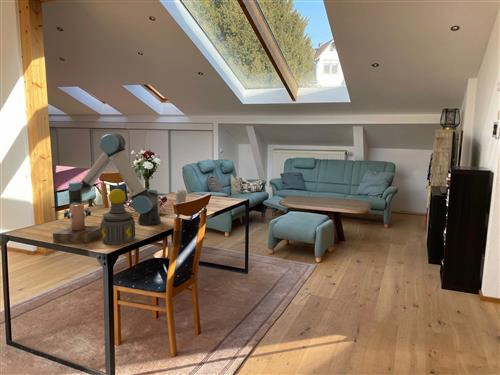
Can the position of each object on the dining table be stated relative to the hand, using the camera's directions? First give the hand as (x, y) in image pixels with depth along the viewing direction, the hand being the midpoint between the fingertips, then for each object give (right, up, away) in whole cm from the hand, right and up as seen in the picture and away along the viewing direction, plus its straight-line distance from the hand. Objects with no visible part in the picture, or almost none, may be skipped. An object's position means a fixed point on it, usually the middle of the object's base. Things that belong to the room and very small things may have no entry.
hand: (78, 217), depth 214 cm
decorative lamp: (+22, -14, +4) cm, 26 cm away
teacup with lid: (+23, -3, +73) cm, 77 cm away
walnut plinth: (-2, -13, +6) cm, 14 cm away
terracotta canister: (-2, -7, +5) cm, 9 cm away
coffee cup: (+41, 0, +94) cm, 102 cm away
